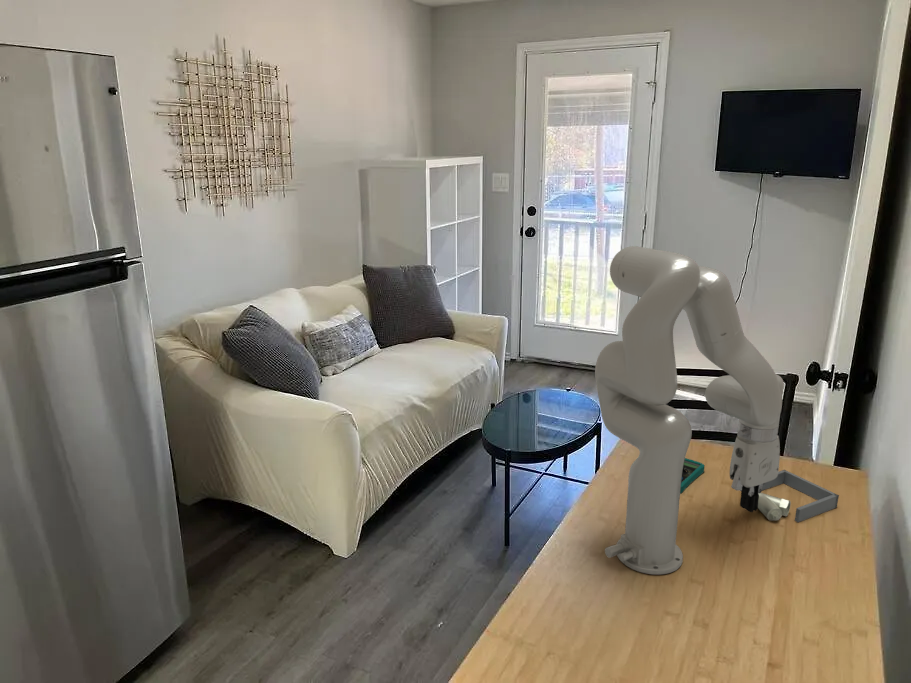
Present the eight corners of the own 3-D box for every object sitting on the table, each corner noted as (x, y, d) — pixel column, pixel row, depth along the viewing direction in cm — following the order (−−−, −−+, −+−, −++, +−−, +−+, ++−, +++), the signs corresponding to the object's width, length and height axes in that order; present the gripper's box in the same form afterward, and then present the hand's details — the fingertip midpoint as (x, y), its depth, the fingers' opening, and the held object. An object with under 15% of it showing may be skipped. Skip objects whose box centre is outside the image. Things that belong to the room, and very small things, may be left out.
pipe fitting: (780, 528, 139) (789, 512, 144) (782, 512, 138) (791, 497, 143) (741, 515, 144) (751, 500, 149) (743, 500, 143) (752, 485, 148)
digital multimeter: (649, 487, 156) (650, 475, 155) (676, 464, 167) (677, 453, 166) (679, 497, 152) (680, 485, 151) (704, 473, 162) (705, 462, 161)
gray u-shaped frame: (797, 522, 140) (799, 509, 139) (744, 493, 152) (746, 482, 151) (836, 507, 145) (838, 495, 144) (782, 481, 157) (784, 469, 156)
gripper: (747, 445, 130) (737, 526, 136) (797, 429, 137) (787, 507, 142) (717, 431, 137) (709, 509, 142) (767, 417, 143) (757, 492, 148)
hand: (748, 508), depth 142 cm, fingers closed
